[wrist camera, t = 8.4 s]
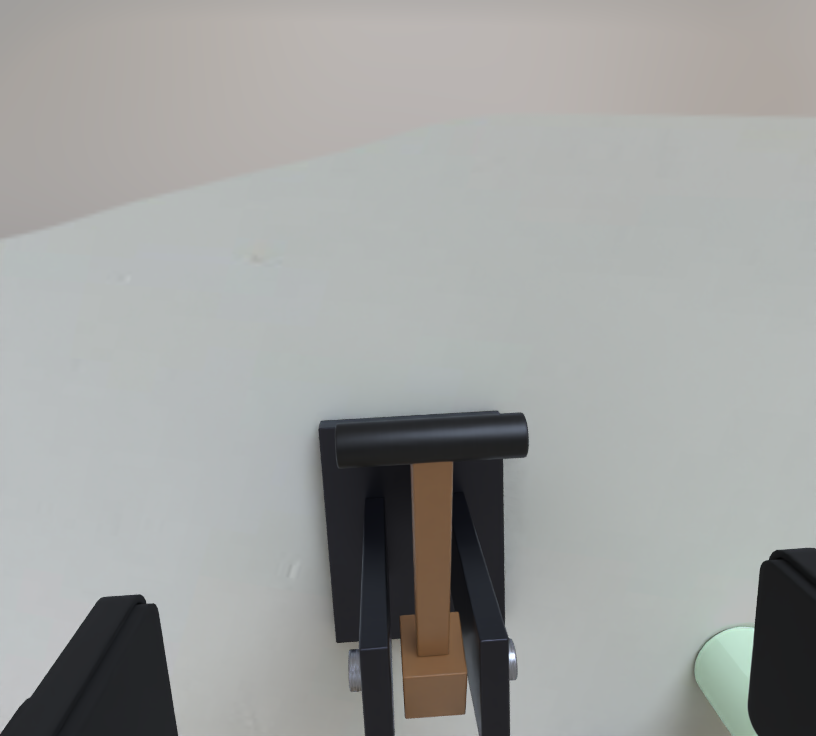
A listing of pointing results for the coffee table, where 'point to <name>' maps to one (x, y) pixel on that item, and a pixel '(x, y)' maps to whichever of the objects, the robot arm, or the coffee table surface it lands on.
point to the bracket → (394, 576)
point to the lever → (432, 535)
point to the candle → (728, 677)
